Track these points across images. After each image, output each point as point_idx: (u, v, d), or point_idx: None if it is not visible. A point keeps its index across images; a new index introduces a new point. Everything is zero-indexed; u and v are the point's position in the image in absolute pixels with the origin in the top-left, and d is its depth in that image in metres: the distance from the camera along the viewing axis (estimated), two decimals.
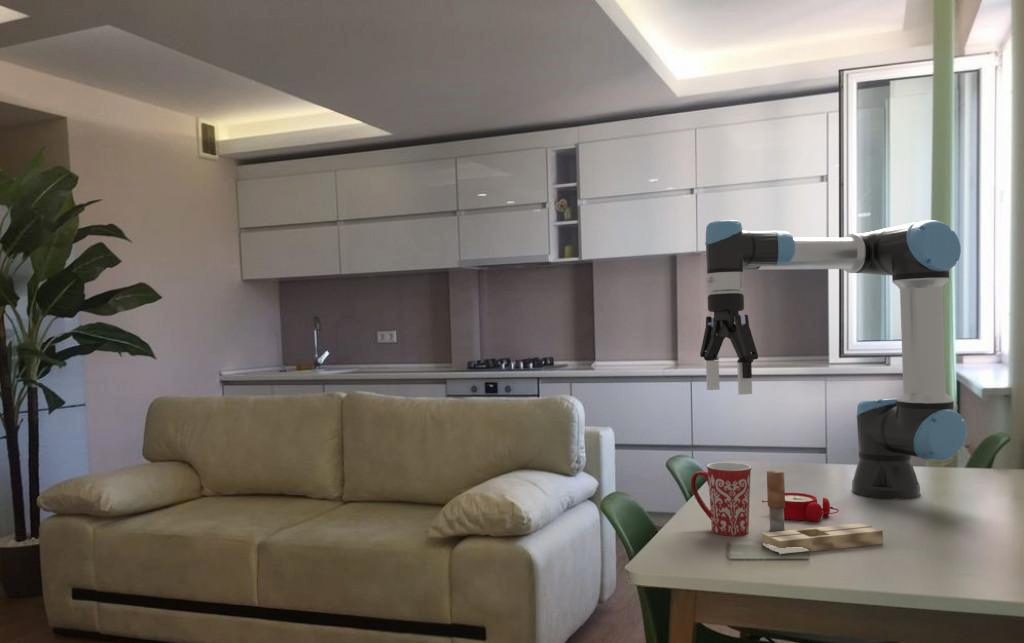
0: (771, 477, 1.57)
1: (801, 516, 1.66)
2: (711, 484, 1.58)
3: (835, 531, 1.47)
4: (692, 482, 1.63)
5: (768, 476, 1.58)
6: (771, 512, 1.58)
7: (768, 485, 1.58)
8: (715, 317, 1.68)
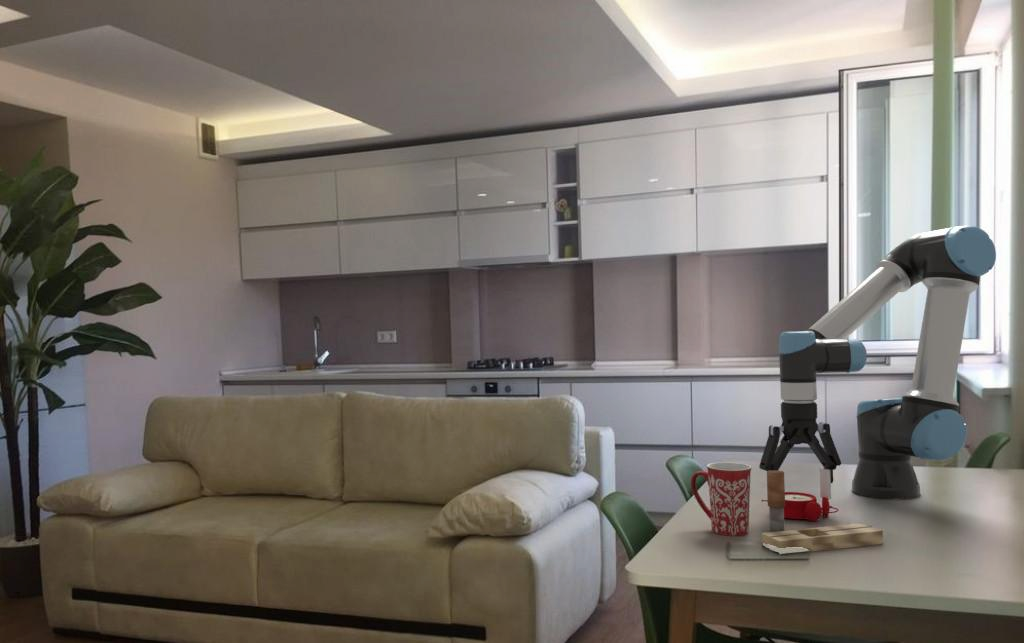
0: (771, 477, 1.57)
1: (800, 515, 1.66)
2: (711, 484, 1.58)
3: (835, 531, 1.47)
4: (692, 482, 1.63)
5: (768, 476, 1.58)
6: (771, 512, 1.58)
7: (768, 485, 1.58)
8: None
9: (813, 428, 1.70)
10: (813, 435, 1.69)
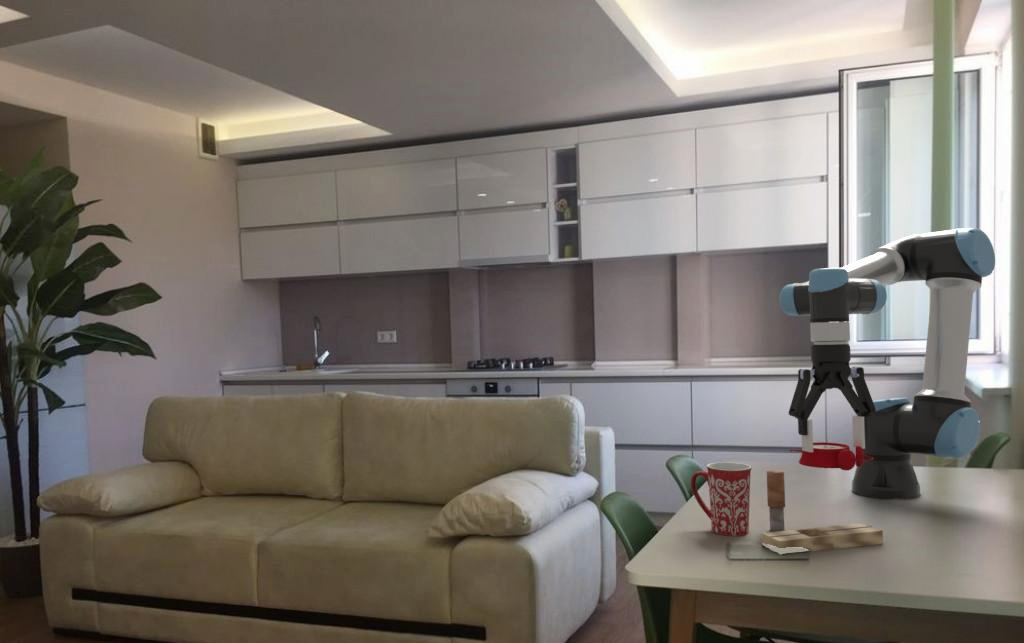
0: (771, 477, 1.57)
1: (833, 464, 1.55)
2: (711, 484, 1.58)
3: (835, 531, 1.47)
4: (692, 482, 1.63)
5: (768, 476, 1.58)
6: (771, 512, 1.58)
7: (768, 485, 1.58)
8: None
9: (846, 372, 1.58)
10: (846, 379, 1.58)
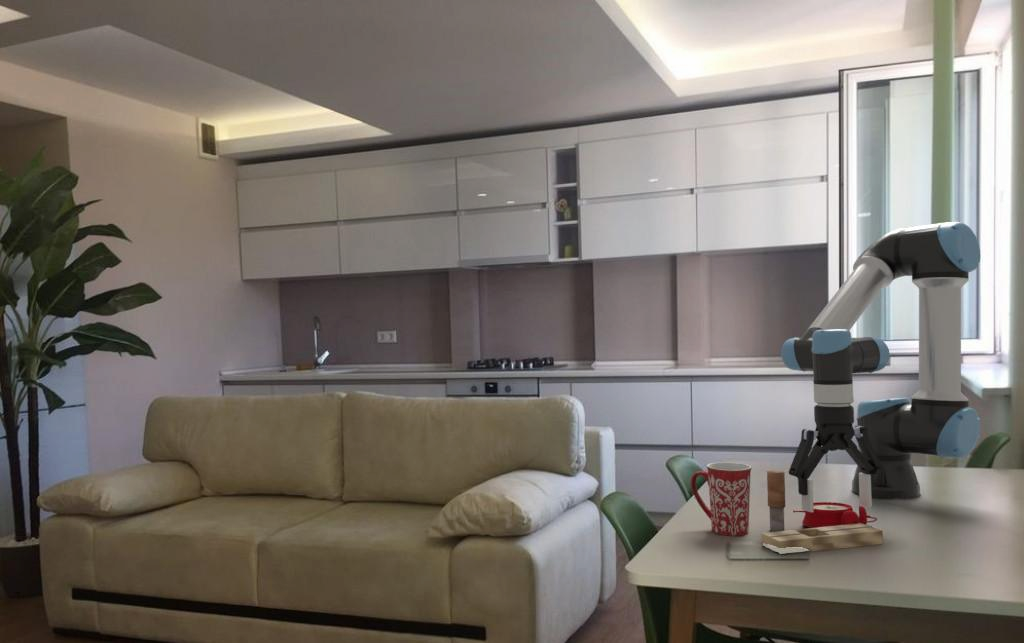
0: (771, 477, 1.57)
1: (836, 525, 1.55)
2: (711, 484, 1.58)
3: (835, 531, 1.47)
4: (692, 482, 1.63)
5: (768, 476, 1.58)
6: (771, 512, 1.58)
7: (768, 485, 1.58)
8: None
9: (849, 433, 1.58)
10: (850, 440, 1.57)
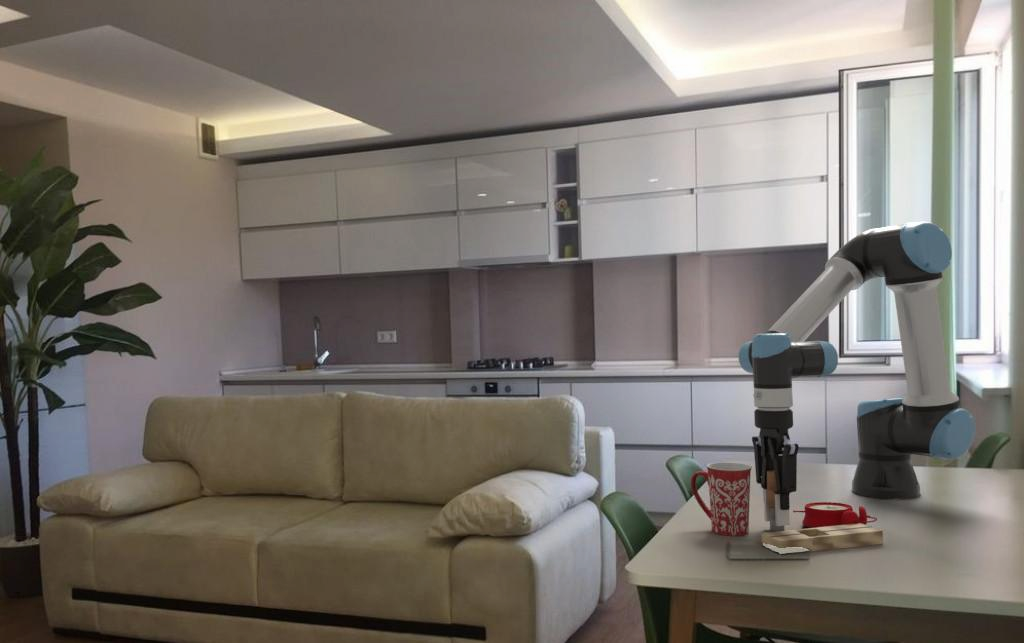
0: (771, 477, 1.57)
1: (836, 525, 1.54)
2: (711, 484, 1.58)
3: (835, 531, 1.47)
4: (692, 482, 1.63)
5: (768, 476, 1.58)
6: (771, 512, 1.58)
7: (768, 485, 1.58)
8: (761, 431, 1.61)
9: None
10: None
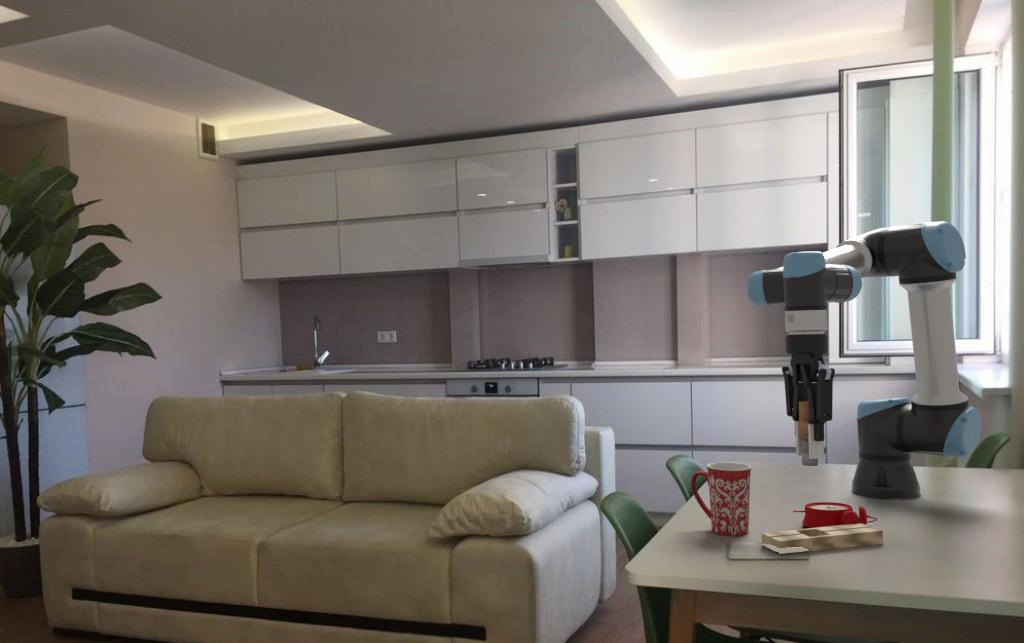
0: (804, 407, 1.46)
1: (836, 525, 1.54)
2: (711, 484, 1.58)
3: (835, 531, 1.47)
4: (692, 482, 1.63)
5: (800, 406, 1.46)
6: (804, 445, 1.46)
7: (800, 415, 1.47)
8: (792, 359, 1.50)
9: None
10: None
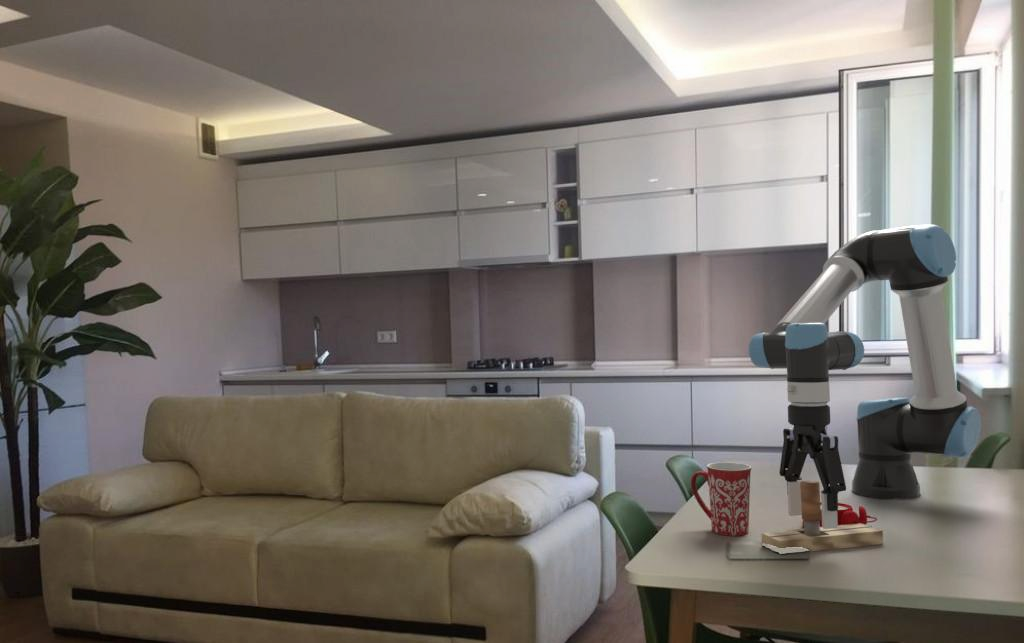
0: (805, 488, 1.46)
1: None
2: (711, 484, 1.58)
3: (835, 531, 1.47)
4: (692, 482, 1.63)
5: (802, 487, 1.47)
6: (806, 526, 1.46)
7: (802, 496, 1.47)
8: (795, 429, 1.49)
9: None
10: None
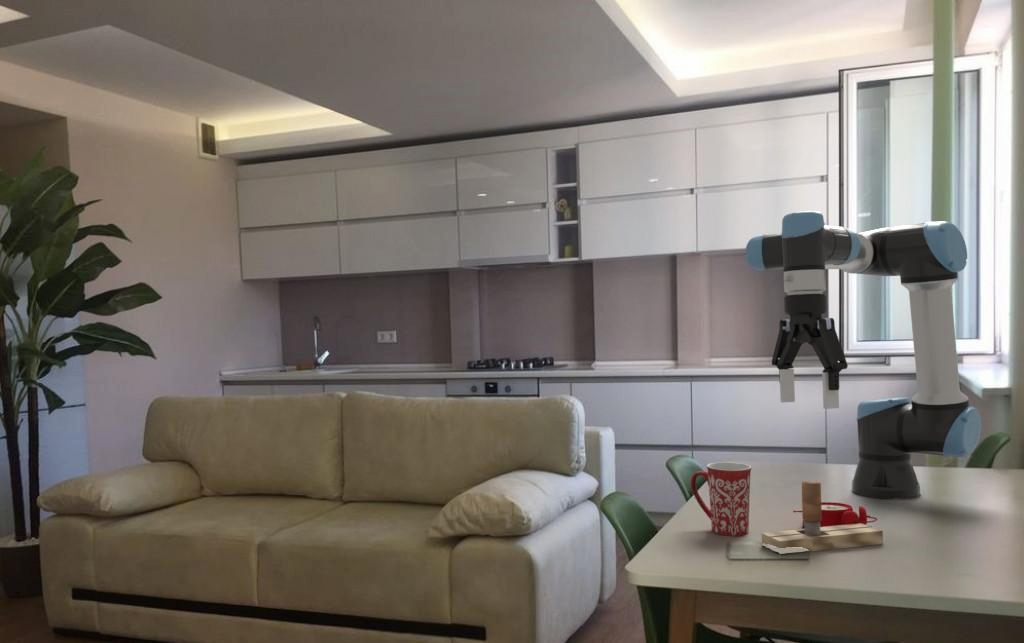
0: (807, 489, 1.46)
1: (836, 525, 1.54)
2: (711, 484, 1.58)
3: (835, 531, 1.47)
4: (692, 482, 1.63)
5: (804, 487, 1.46)
6: (806, 526, 1.46)
7: (803, 497, 1.46)
8: (792, 321, 1.50)
9: None
10: None
